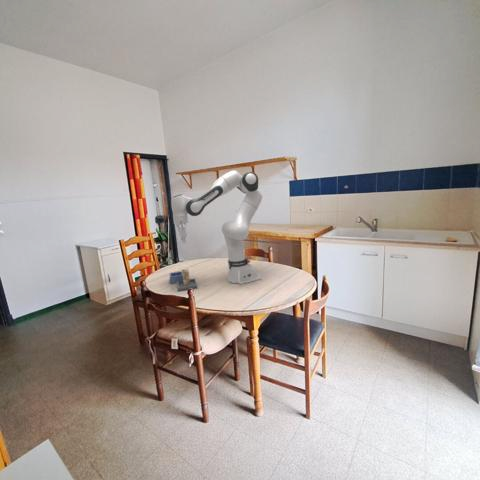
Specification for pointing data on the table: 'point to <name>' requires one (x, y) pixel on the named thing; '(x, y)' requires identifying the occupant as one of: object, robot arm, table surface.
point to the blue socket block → (176, 277)
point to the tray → (192, 285)
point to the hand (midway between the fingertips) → (183, 241)
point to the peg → (186, 277)
